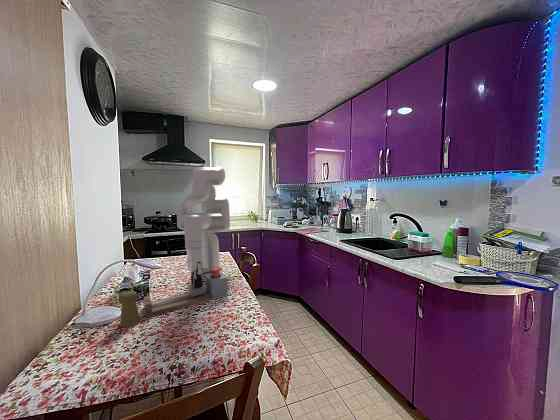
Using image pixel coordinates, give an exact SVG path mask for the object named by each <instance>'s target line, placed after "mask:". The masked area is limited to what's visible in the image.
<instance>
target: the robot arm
mask: <svg viewBox="0 0 560 420" xmlns="http://www.w3.org/2000/svg"><path fill="white" fill-rule="evenodd" d="M225 180H226V171H225V169H224V168H223V167H221V166H214V167H213V166H211V167H210V166H209V167H207V166H206V167H205V166H201V167H195V168H194V169H193V171H192V184H191V189H190V190H191V191H190V192H191V193H190V194H188V195H187V196H186V197H185V198H184V199H183V201H182V202H181V203H180V204H179V207H178V209H177V218H176V224H177V227H178V228H179V229H180V230H182V231H184V243H185V244H184V245H185V246H184V247H185V249H186V268H187V269H188V271H189V272H190V284H193V274H195V279H194V285H195V288H200V287H203V284H204V283H203V273H205V272H206V273H211V272H210V270H209V269H210V268H213V267H220V268H221V270H222V268H223V265H222V264H221V263H220V247H219V246H220V245H219V237H218V235H217V234H216V233H222V232H223V233H225V232H228V231H229V230H230V229H231V219H230V218H231V216H230V213H231V212H230V203H229V200H228V199H227V198H226V197H221V196H220V197H217V196H216V195H217V193H216V188H215V186H222V185H223V183H224V182H225ZM199 204H200V209H201V212H188V211H189V210H190V209H191V208H192V207H194V206H196V205H199ZM216 214H220V215H216ZM196 274H197V275H196Z"/></svg>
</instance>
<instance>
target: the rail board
mask: <svg viewBox="0 0 560 420" xmlns="http://www.w3.org/2000/svg"><path fill="white" fill-rule="evenodd" d="M211 300H212V298H211V296H210V295H209V293H208V292H206V293H204V294H201V295H197V296H194V297H192V295H191V294H190V293H189V291H188V292H183V293H180V294H176V295H173V296H168V297H164V298H160V299H157V300H151V297H150V295H146V296H144V297H143V306H144V307H143V308H144V312H145V316H146V318H151V317H154V316H157V315H161V314H164V313H168V312H172V311H175V310H180V309H183V308H186V307H189V306H194V305H197V304H200V303H205V302H207V301H211Z"/></svg>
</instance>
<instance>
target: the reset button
mask: <svg viewBox="0 0 560 420" xmlns="http://www.w3.org/2000/svg"><path fill="white" fill-rule="evenodd" d="M209 270H210V272H209V273H211V278H217V277H220V272H221V271H222V269H221V268H220V267H213V268H210V269H209Z"/></svg>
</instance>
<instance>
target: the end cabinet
mask: <svg viewBox="0 0 560 420" xmlns="http://www.w3.org/2000/svg"><path fill="white" fill-rule="evenodd" d="M204 285H205V286H206V290H207V292H208V293H209V295H210V296H211V300H214V299H215V300H216V299H218V298H222V297H224V296H228V295H229V294H228V293H229V291H228V289H229V287H228V277H227V276H226V275H225V274H223V272H221V271H220V277H217V278H211V272H208V273H206V274H205V273H204Z"/></svg>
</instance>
